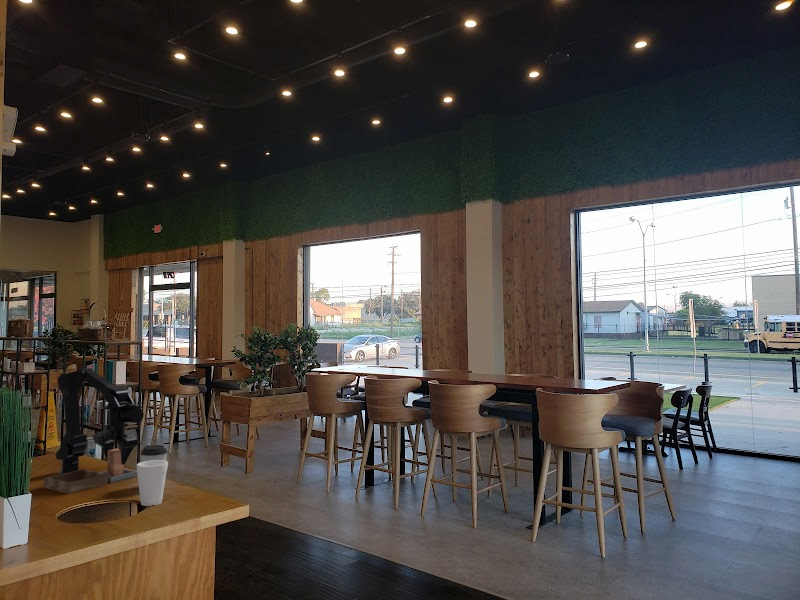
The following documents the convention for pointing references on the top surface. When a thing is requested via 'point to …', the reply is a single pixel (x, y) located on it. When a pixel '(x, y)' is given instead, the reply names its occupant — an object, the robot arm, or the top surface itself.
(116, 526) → the top surface
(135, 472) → the grey rectangular bin
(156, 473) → the foam cup
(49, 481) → the brown square tray
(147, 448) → the coffee cup
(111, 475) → the terracotta peg
